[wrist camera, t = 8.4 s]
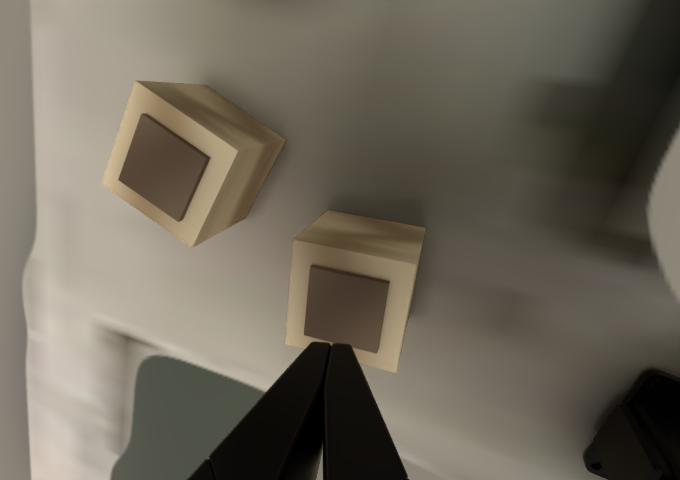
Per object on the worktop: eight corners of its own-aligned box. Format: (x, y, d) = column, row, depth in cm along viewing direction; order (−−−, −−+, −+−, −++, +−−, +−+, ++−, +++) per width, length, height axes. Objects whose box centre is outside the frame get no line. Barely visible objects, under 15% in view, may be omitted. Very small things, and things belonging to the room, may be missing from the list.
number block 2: (426, 227, 20) (416, 267, 15) (408, 316, 22) (395, 377, 17) (328, 209, 21) (290, 242, 16) (319, 295, 23) (282, 347, 18)
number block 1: (286, 140, 21) (234, 151, 16) (245, 218, 23) (187, 250, 18) (205, 84, 21) (129, 80, 16) (172, 167, 23) (95, 185, 18)
